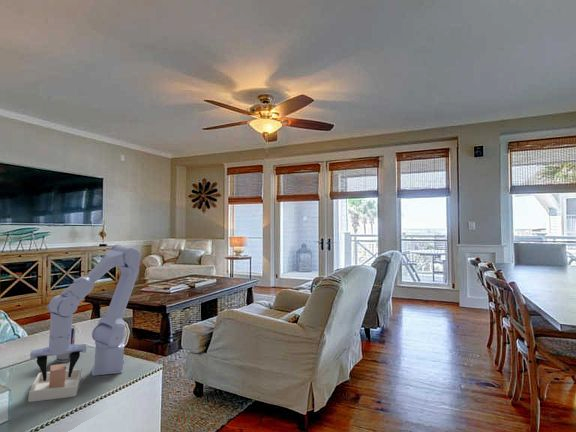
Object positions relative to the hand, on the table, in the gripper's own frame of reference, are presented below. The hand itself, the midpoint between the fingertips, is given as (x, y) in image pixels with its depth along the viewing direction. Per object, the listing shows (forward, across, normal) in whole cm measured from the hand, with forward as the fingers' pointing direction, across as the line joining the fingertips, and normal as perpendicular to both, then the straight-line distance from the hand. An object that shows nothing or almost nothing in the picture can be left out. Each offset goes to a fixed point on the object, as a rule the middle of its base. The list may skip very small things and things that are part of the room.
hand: (57, 377), depth 109 cm
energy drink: (+4, -2, -22) cm, 22 cm away
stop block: (+3, 0, 0) cm, 3 cm away
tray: (+4, 0, 0) cm, 4 cm away
